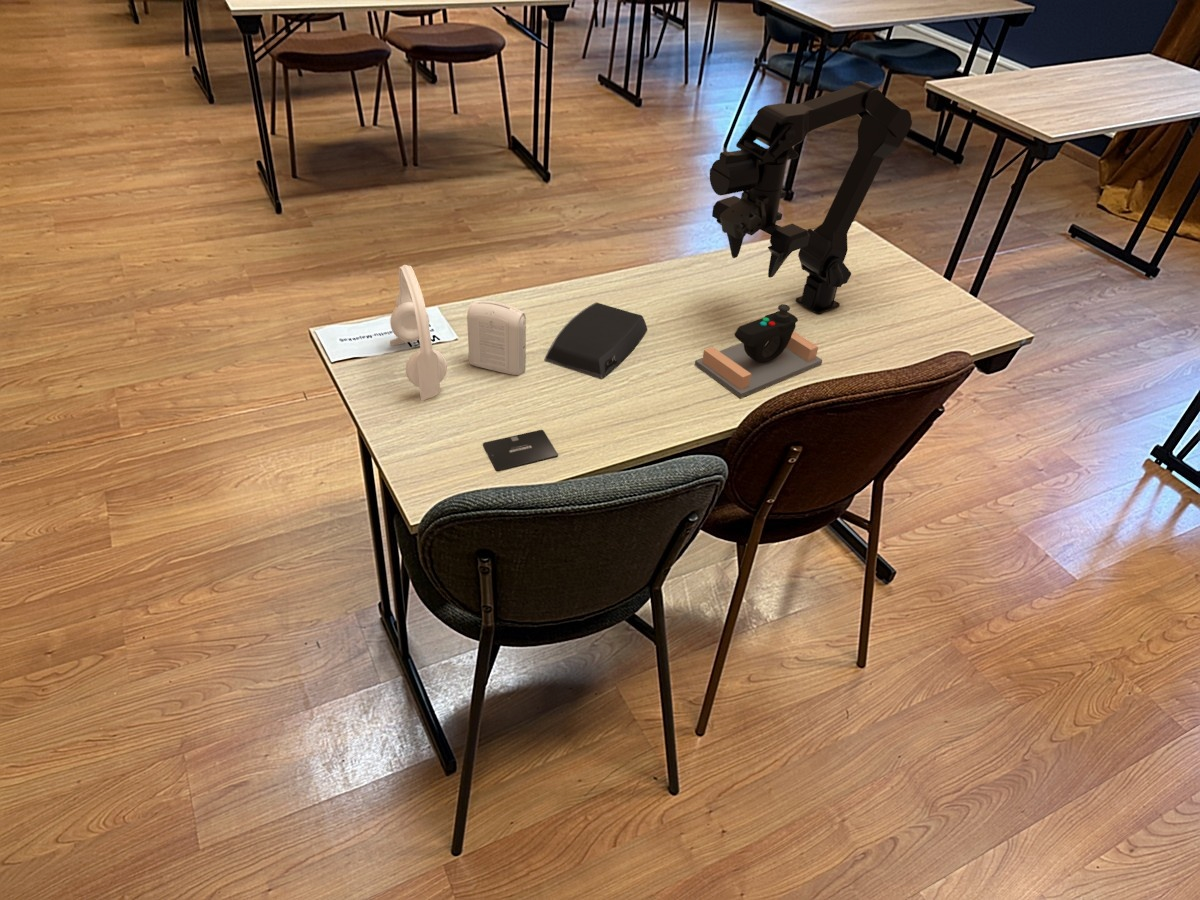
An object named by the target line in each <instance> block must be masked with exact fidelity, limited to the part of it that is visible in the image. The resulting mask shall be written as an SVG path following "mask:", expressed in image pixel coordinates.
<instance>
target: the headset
mask: <svg viewBox="0 0 1200 900" xmlns="http://www.w3.org/2000/svg"><path fill="white" fill-rule="evenodd" d="M398 287H399V288H398V290H399V293H398V294H397V295H396V300H395V302H396V303H395V304H396V307H395V308H394V309H393V311H392V313H391V316H390V319H389V322H390V328H391V331H392V332H393V334H394V335H395V337H396V338H393V339H391V340H390V339H389V345H390V346H391V347H393V346H398V345H401V344H403V345H404V344H405V343H413V342H417V341H418V343H419V350H416V351H415V352H413V353H412V354H411V355H410V356H409V357H408V360H407V361H406V364H405V375H406V378H407V380H408V381H409V382H410V383H411V384H412V385H413V386H416V387H417V388H418V389H419V397H420V400H421V401H422V402H423V401H425V400H429V399H431V398H433V397H436V395H439V394H440V391H441V384H440V383H442V381H443V380H444V379H445V377H446V375H447V371H448V364H447V361H446V359H445V357H444V355H443V354H442V353H441V352H440V351H438V350H436V349H433V345H432V337H431V332H430V331H431V330H430V318H429V315H428V312H427V308H426V305H425V304H426V303H425V299H424V295H423V291H422V290H421V286H420V283H419V281H418V279H417V276H416V273H415V271H414V269H413V267H412V266H411V265H407V264H403V265H402V266H399V267H398ZM392 345H393V346H392Z"/></svg>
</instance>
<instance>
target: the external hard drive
mask: <svg viewBox="0 0 1200 900" xmlns="http://www.w3.org/2000/svg"><path fill="white" fill-rule="evenodd" d="M647 327H648V325H647V323H646V321H645V318H644V316H643V315H642V314H639V313H634V312H631V311H627V310H623V309H621V308H617V307H614V306H610V305H606V304H603V303H600V302H597V301H596V302H594V303H592V304H590V305H588V306H587V307H586V308H583V310H581V311H579V312H578V313H577V314H576V315H575V316H573V317H572V318H571V319H570V320H569V321H568V322H567V323H566V324H565V325H564V326H563V328H562V329H561V330H560V331H559V333H558V334H557V335H556V337H555V338H554V340H553V342H552V344H550V347H549V349H548V350H547V353H546V354H545V357H544V361H545V362H547V363H550V364H553V365H557V366H560V367H562V368H566V369H569V370H571V371H574V372H578V373H581V374H584V375H587V376H590V377H593V378H596V379H599V380H603V379H604V378H606V377H607V376H608V375H610V374H611V373H612V372H613V371H614V370H615V369H617V368H618V367H619V366H620V365H621V364H622V363H623V362H624V361H625V360H626V359H627V357H629V356H630V355H631V353H632V352H633V351H634V349H636V347H638V345H639V343H640V342H641V340H642V339H643V337H645V335H646V333H647V331H648V328H647Z"/></svg>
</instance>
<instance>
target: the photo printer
mask: <svg viewBox="0 0 1200 900" xmlns="http://www.w3.org/2000/svg"><path fill="white" fill-rule="evenodd" d="M526 319H527V317H526V314H525V312H524V311H522V310H520V309H519V308H516V307H514V306H511V305H509V304H506V303H503V302H499V301H494V300H493V301H492V300H477V301H472V302H471V303H470V304H469V305H468V309H467V313H466V322H467V325H466V326H467V341H468V342H467V344H468V345H467V347H468V363H469V364H470V365H472V366H474V367H477V368H482V369H487V370H490V371H495V372H499V373H503V374H507V375H513V376H520V375H522V374H523V373H525V371H526V362H527V361H526V359H527V358H526V357H527V356H526V355H527V344H526V343H527V342H526V341H527V334H526V333H527V331H526V330H527V326H526V325H527V322H526V321H527V320H526Z"/></svg>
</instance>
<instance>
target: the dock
mask: <svg viewBox="0 0 1200 900" xmlns="http://www.w3.org/2000/svg"><path fill="white" fill-rule="evenodd" d="M768 342H769V341H768ZM768 342H767V343H768ZM767 343H766V344H767ZM765 346H766V345H765ZM818 350H819V346H818V345H816V344H815V343H814V342H811V341H810V340H808V339H807V338H806V337H804V336H802V335H801V334H799V333H797V332H795V330H794V331H793V334H792V336H791V339H790V341H789V343H788V345H787V346H786V348H785V349H784V351H783V352H782V353H781V354H780V355H779V356H778V357H777V358H775V359H774V360H772V361H769V362H766V363H760V362H756V361H755V360H753V359H752V358H750V357H749V356H748V355H747V354H746V352H745V349H744V343H742V342H740V343H738V344H735V345H733V346H729V347H727V348H725V349H722V350H718V349H717V348H715V347H713V346H711V347H708V348H705V349H704V350H703V355H702V357H700V358H698V359H695V361H694V366H696V367H697V369H699V370H700V371H702V372H703V373H705V374H706V375H708V376H709V377H710V378H711V379H713V380H714V381H716V382H717V383H719V384H720V385H721V386H723V387H724V388H725V389H726V390H728V391H729V392H731V394H734V395H735V396H736V397H738V398H739V399H740V398H741V399H743V398H745V397H747V396H750V395H752V394H754V393H757V392H760V391H762V390H764V389H766V387H767V388H768V387H771V386H774V385H776V384H779V383H781V382H783V381H785V380H787V379H790V378H792V377H795V376H798V375H800V374H802V373H805V372H807V371H810V370H812V369H814V368H816V367H817V368H818V367H819V366H822V363H823V359H822V358H820V357H819V356H817V354H818ZM780 381H781V382H780ZM778 382H779V383H778ZM773 384H774V385H773Z"/></svg>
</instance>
